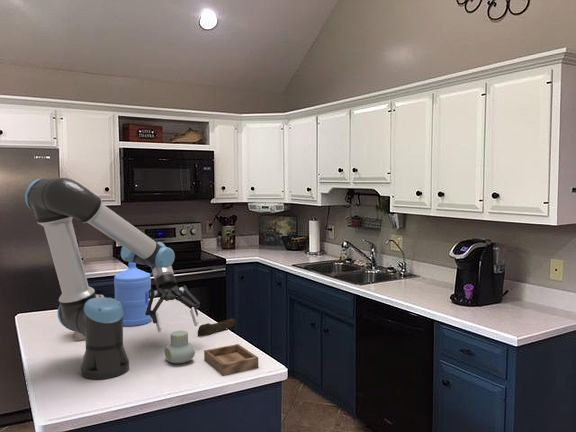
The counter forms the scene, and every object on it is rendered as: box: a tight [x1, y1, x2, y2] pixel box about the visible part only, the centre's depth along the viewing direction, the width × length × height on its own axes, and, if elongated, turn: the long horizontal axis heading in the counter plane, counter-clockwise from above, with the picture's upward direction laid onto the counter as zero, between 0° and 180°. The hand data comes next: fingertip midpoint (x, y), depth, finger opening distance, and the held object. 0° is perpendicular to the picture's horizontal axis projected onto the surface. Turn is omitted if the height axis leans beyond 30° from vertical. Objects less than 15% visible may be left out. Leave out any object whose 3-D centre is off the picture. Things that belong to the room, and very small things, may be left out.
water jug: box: [113, 262, 152, 327], centre depth 220 cm, size 16×16×28 cm
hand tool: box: [197, 317, 237, 337], centre depth 206 cm, size 19×4×5 cm, turn 135°
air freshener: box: [164, 329, 196, 364], centre depth 173 cm, size 11×8×10 cm
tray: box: [203, 343, 259, 377], centre depth 170 cm, size 13×16×4 cm
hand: (178, 327), depth 179 cm, fingers open, 13 cm apart
